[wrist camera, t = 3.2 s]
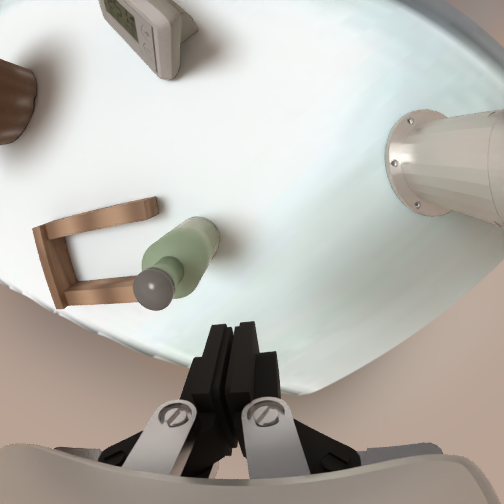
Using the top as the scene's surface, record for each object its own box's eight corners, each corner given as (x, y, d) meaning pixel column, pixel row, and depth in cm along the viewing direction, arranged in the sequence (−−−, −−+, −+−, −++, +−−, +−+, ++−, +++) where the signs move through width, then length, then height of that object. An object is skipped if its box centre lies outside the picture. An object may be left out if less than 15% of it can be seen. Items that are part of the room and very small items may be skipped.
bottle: (215, 213, 31) (177, 251, 18) (223, 257, 33) (194, 321, 19) (172, 220, 32) (111, 260, 18) (181, 262, 33) (131, 324, 19)
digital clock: (105, 14, 24) (63, -17, 14) (164, -21, 22) (136, -65, 12) (145, 99, 28) (97, 76, 17) (216, 59, 26) (193, 16, 16)
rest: (155, 196, 31) (139, 201, 26) (175, 287, 34) (163, 304, 30) (52, 220, 32) (32, 228, 28) (73, 295, 35) (56, 309, 31)
